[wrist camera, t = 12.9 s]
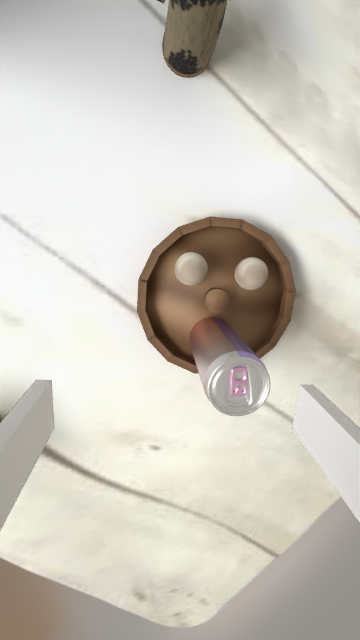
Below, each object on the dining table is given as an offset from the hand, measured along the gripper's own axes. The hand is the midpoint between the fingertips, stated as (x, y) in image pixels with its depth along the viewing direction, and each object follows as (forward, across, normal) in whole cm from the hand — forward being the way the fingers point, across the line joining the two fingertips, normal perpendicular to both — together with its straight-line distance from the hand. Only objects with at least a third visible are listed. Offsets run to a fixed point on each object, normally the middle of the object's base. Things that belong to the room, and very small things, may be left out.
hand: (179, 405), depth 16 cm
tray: (+25, +7, +1) cm, 26 cm away
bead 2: (+24, +10, +5) cm, 27 cm away
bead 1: (+24, +3, +5) cm, 25 cm away
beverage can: (+24, +6, -4) cm, 25 cm away
